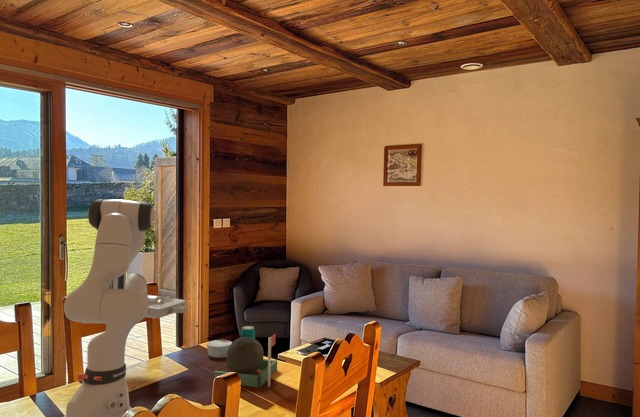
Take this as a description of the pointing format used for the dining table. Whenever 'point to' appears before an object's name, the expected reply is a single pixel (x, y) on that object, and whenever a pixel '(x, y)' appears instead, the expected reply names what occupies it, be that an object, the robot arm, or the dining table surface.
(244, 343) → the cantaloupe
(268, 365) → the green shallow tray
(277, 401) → the dining table surface
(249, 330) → the beverage can
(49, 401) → the dining table surface
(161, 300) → the robot arm
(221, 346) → the ramekin
